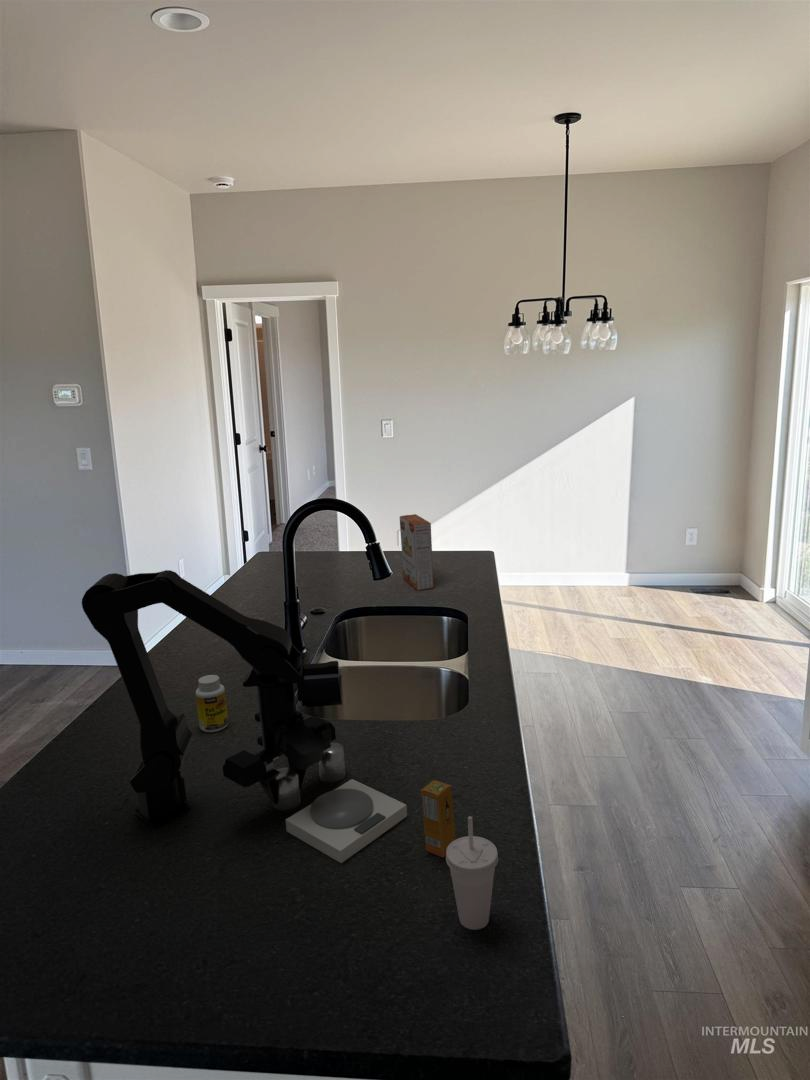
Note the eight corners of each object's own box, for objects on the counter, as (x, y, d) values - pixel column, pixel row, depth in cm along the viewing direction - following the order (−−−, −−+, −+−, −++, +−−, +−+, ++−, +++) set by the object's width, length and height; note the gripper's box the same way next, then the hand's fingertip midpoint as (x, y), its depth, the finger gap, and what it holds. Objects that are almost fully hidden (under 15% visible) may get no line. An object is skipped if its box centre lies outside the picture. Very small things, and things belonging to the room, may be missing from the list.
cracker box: (402, 579, 239) (398, 515, 234) (419, 577, 241) (416, 513, 236) (415, 591, 226) (412, 524, 221) (434, 588, 227) (431, 521, 223)
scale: (341, 863, 105) (339, 847, 105) (286, 831, 113) (285, 816, 113) (407, 816, 115) (406, 801, 115) (352, 789, 123) (351, 775, 123)
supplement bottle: (205, 736, 144) (199, 687, 141) (196, 725, 148) (189, 678, 146) (233, 727, 147) (227, 679, 144) (223, 717, 151) (217, 670, 149)
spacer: (285, 813, 118) (282, 785, 116) (267, 803, 121) (264, 776, 119) (306, 800, 121) (303, 773, 120) (288, 791, 124) (286, 764, 123)
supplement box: (437, 838, 110) (434, 777, 107) (456, 847, 107) (454, 785, 105) (423, 850, 107) (420, 788, 105) (442, 859, 105) (439, 796, 103)
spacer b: (331, 785, 125) (329, 758, 124) (314, 776, 128) (311, 750, 127) (350, 774, 128) (348, 747, 127) (333, 766, 131) (330, 740, 130)
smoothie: (495, 899, 97) (493, 803, 94) (503, 936, 91) (501, 835, 87) (446, 902, 97) (442, 806, 93) (451, 939, 90) (446, 838, 87)
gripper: (261, 747, 105) (271, 845, 108) (356, 699, 118) (362, 787, 122) (215, 725, 112) (226, 817, 116) (309, 682, 125) (316, 765, 129)
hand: (286, 796), depth 120 cm, fingers closed on spacer, 4 cm apart
